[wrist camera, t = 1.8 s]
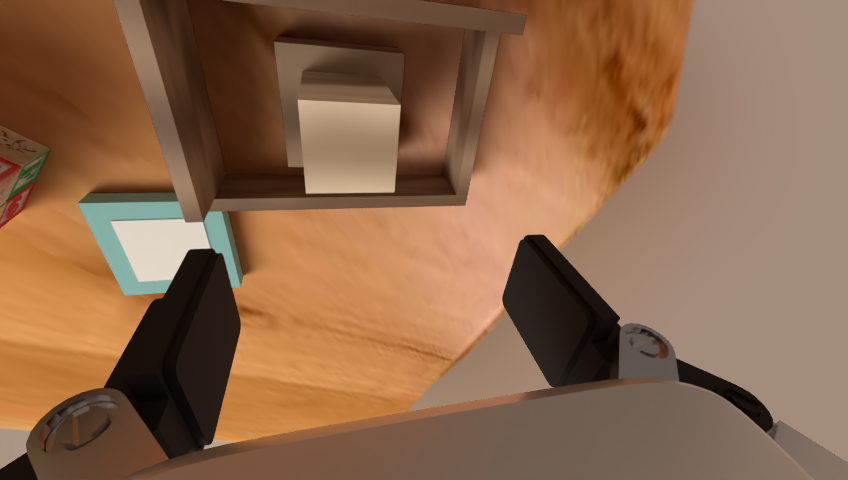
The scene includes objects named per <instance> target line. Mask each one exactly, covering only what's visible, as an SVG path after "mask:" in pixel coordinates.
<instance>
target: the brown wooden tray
mask: <svg viewBox="0 0 848 480" xmlns="http://www.w3.org/2000/svg"><path fill="white" fill-rule="evenodd" d="M224 1H232V2H241V3H249V4H258V5H266V6H275V7H284V8H292V9H301V10H309V11H318V12H326V13H335V14H344V15H352V16H361V17H369V18H378V19H387V20H395V21H404V22H412V23H421V24H429V25H438V26H447V27H455V28H464V29H465V33H464V39H463V46H462V52H461V59H460V65H459V72H458V78H457V85H456V91H455V98H454V104H453V111H452V117H451V124H450V130H449V137H448V144H447V150H446V157H445V163H444V170H443V175H396V179H395V192H383V193H308V194H306V188H305V177H304V175H226V172H225V168H224V163H223V159H222V155H221V150H220V146H219V141H218V137H217V133H216V128H215V124H214V119H213V115H212V111H211V106H210V102H209V97H208V93H207V88H206V84H205V80H204V75H203V71H202V66H201V62H200V58H199V53H198V49H197V44H196V40H195V36H194V31H193V27H192V22H191V18H190V14H189V9H188V5H187V0H113V2H114V5H115V8H116V11H117V14H118V17H119V20H120V23H121V26H122V29H123V32H124V35H125V39H126V42H127V45H128V48H129V51H130V54H131V57H132V60H133V63H134V66H135V69H136V72H137V75H138V78H139V82H140V85H141V88H142V91H143V94H144V97H145V100H146V103H147V106H148V109H149V112H150V115H151V118H152V121H153V125H154V128H155V131H156V134H157V137H158V140H159V143H160V146H161V149H162V152H163V155H164V158H165V161H166V164H167V168H168V171H169V174H170V177H171V180H172V183H173V186H174V189H175V192H176V195H177V198H178V201H179V204H180V207H181V211H182V214H183V217H184V220H185V223H190V222H204V220H205V218H206V216H207V214H208V212H220V211H260V210H301V209H342V208H383V207H424V206H464V205H465V204H466V200H467V195H468V190H469V185H470V180H471V175H472V170H473V165H474V160H475V155H476V151H477V146H478V141H479V136H480V131H481V126H482V121H483V116H484V111H485V106H486V101H487V97H488V92H489V87H490V82H491V77H492V72H493V67H494V62H495V57H496V52H497V47H498V43H499V38H500V33H507V34H515V35H523V31H524V27H525V22H526V18H527V15H524V14H517V13H510V12H504V11H497V10H490V9H483V8H476V7H468V6H461V5H453V4H446V3H439V2H431V1H424V0H224ZM274 48H275V56H276V65H277V74H278V82H279V91H280V99H281V108H282V117H283V125H284V134H285V143H286V151H287V160H288V167H304V165H303V154H302V143H301V132H300V121H299V110H298V95H299V89H300V83H301V77H302V71H308V72H321V73H335V74H349V75H362V76H376V77H382V79H383V80H384V82H385V83H386V85H387V86H388V88H389V89H390V90H391V92H392V93H393V95H394V96H395V98H396V99H397V101H398V102H399V103H400V105H401V100H402V86H403V72H404V58H405V54H404V53H403V52H402V51H401V50H399V49H398V48H397V47H387V46H377V45H367V44H356V43H346V42H336V41H325V40H315V39H304V38H294V37H284V36H278V37H277V38H276V40H275V41H274ZM400 114H401V108H400ZM399 128H400V123H399ZM398 142H399V137H398ZM397 156H398V151H397ZM396 168H397V165H396Z"/></svg>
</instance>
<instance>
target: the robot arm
mask: <svg viewBox="0 0 848 480" xmlns="http://www.w3.org/2000/svg"><path fill="white" fill-rule="evenodd" d="M502 300H503V305H504V307H505V309H506V311H507V312H508V314H509V316H510V318H511V319H512V321H513V322H514V325H515V326H516V328H517V330H518V331H519V333H520V335H521V337H522V338H523V340H524V342H525V344H526V345H527V347H528V349H529V350H530V352H531V354H532V356H533V357H534V359H535V361H536V363H537V364H538V366H539V368H540V369H541V371H542V373H543V374H544V376H545V378H546V380H547V381H548V383H549V385H551V386H552V387H555V388H549V389H543V390H537V391H531V392H524V393H518V394H513V395H506V396H500V397H493V398H488V399H481V400H475V401H469V402H464V403H457V404H451V405H446V406H440V407H433V408H427V409H422V410H416V411H410V412H404V413H398V414H392V415H386V416H380V417H374V418H369V419H363V420H357V421H351V422H345V423H340V424H334V425H328V426H322V427H317V428H311V429H305V430H299V431H294V432H289V433H283V434H278V435H273V436H267V437H262V438H257V439H251V440H246V441H241V442H236V443H230V444H226V445H222V446H217V447H213V448H209V449H204V446H205V445H209V444H211V443H212V441H213V438H214V435H215V431H216V427H217V423H218V419H219V415H220V410H221V406H222V402H223V398H224V394H225V390H226V386H227V382H228V378H229V374H230V370H231V366H232V362H233V358H234V354H235V350H236V346H237V342H238V338H239V334H240V328H241V323H240V317H239V313H238V310H237V306H236V302H235V298H234V294H233V290H232V287H231V283H230V279H229V275H228V271H227V267H226V264H225V260H224V256H223V254H222V253H216V251H215V250H214V249H213V248H207V249H190V250H188V252H187V253H186V255H185V257H184V259H183V261H182V263H181V265H180V267H179V269H178V270H177V272H176V274H175V276H174V278H173V280H172V282H171V284H170V286H169V287H168V289H167V291H166V293H165V295H164V297H163V298H161V299H156V300H154V301H153V302H152V303H151V304H150V306H149V307H148V309H147V311H146V313H145V315H144V316H143V318H142V320H141V322H140V324H139V325H138V327H137V329H136V331H135V332H134V334H133V336H132V338H131V340H130V341H129V343H128V345H127V347H126V349H125V350H124V352H123V354H122V356H121V358H120V359H119V361H118V363H117V365H116V366H115V368H114V370H113V372H112V374H111V375H110V377H109V379H108V381H107V383H106V384H105V386H104V388H99V389H93V390H89V391H86V392H82V393H80V394H78V395H75V396H73V397H71V398H69V399H67V400H65V401H64V402H62V403H60V404H59V405H57V406H56V407H54V408H53V409H52V410H50V411H49V412H48V413H47V414H46V415H45V416H44V417H43V418H41V419H40V420H39V422H38V423H37V424H36V426H35V427H34V428H33V430H32V431H31V433H30V435H29V438H28V440H27V443H26V447H27V453H25V454H23V455H22V456H20V457H19V458H17V459H16V460H14V461H13V462H11V463H9V464H8V465H6V466H5V467H3V468H2V469H0V480H848V463H847V462H846V461H844V460H843V459H841V458H839V457H838V456H836V455H835V454H833V453H832V452H830V451H828V450H827V449H825V448H823V447H822V446H820V445H819V444H817V443H816V442H814V441H812V440H811V439H809V438H808V437H806V436H804V435H803V434H801V433H800V432H798V431H796V430H795V429H793V428H791V427H790V426H788V425H787V424H785V423H783V422H782V421H780V420H779V421H778V422H777V423H774V422H773V419H772V417H771V415H770V413H769V411H768V410H767V409H766V407H765V406H764V405H763V404H762V403H761V402H760V401H759V400H758V399H757V398H756V397H755V396H754V395H752V394H751V393H750V392H748V391H746V390H744V389H743V388H741V387H739V386H737V385H735V384H733V383H731V382H728V381H726V380H724V379H722V378H719V377H717V376H715V375H713V374H710V373H708V372H706V371H704V370H701V369H699V368H697V367H694V366H692V365H690V364H688V363H685V362H683V361H681V360H679V359H676V356H675V352H674V349H673V347H672V345H671V344H670V343H669V341H668V340H666V338H665V337H663V336H662V335H661V334H660V333H658V332H657V331H655V330H653V329H651V328H649V327H647V326H644V325H640V324H633V323H630V324H625V325H624V326H623V327H620V326H619V324H618V323H617V322H618V321H619V319H620V317H619V316H618V315H617V314H616V313H615V312H614V311H613V310H612V308H611V307H610V306H609V305H608V304H607V303H606V302H605V301H604V300H603V299H602V298H601V296H600V295H599V294H598V293H597V292H596V291H595V290H594V289H593V288H592V287H591V286H590V284H588V282H587V281H586V280H585V279H584V278H583V277H582V276H581V275H580V274H579V273H578V271H577V270H576V269H575V268H574V267H573V266H572V265H571V264H570V263H569V262H568V260H567V259H566V258H565V257H564V256H563V255H562V254H561V253H560V252H559V251H558V250H557V248H556V247H555V246H554V245H553V244H552V243H551V242H550V241H549V240H548V239H547V238H546V236H544V235H527V236H525V237H524V239H523V240H521V241H520V243H519V246H518V249H517V252H516V255H515V258H514V262H513V265H512V268H511V271H510V274H509V277H508V281H507V284H506V287H505V290H504V293H503V297H502ZM203 449H204V450H203Z"/></svg>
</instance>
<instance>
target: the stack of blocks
mask: <svg viewBox="0 0 848 480" xmlns="http://www.w3.org/2000/svg"><path fill="white" fill-rule="evenodd" d="M49 152H50V149H49V148H48V147H45V146H43V145H41V144H39V143H37V142H35V141H33V140H31V139H28V138H26V137H24V136H22V135H20V134H18V133H16V132H14V131H11V130H9V129H7V128H5V127H3V126H1V125H0V228H1V227H2V226H4V225H5V224H6V223H7V222H9V221H10V220H11V219H13V218H14V217H15V216H16V215H18V214H19V213H20V212H21V211H22V209H23V207H24V205H25V203H26V201H27V199H28V197H29V195H30V193H31V190H32V188H33V186H34V184H35V180H36V178H37V176H38V174H39V172H40V170H41V168H42V166H43V163H44V161H45V159H46V157H47V155H48V153H49Z"/></svg>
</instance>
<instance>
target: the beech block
mask: <svg viewBox="0 0 848 480" xmlns="http://www.w3.org/2000/svg"><path fill="white" fill-rule="evenodd" d="M400 108H401V105H400V103H399V102H398V101H397V99H396V98H395V96H394V95H393V93H392V92H391V90H390V89H389V88H388V86H387V85H386V83H385V82H384V80H383V79H382V77H376V76H362V75H349V74H335V73H321V72H308V71H302V77H301V83H300V89H299V95H298V110H299V121H300V132H301V143H302V154H303V165H304V177H305V188H306V194H308V193H383V192H395V179H396V165H397V151H398V137H399V123H400Z"/></svg>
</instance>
